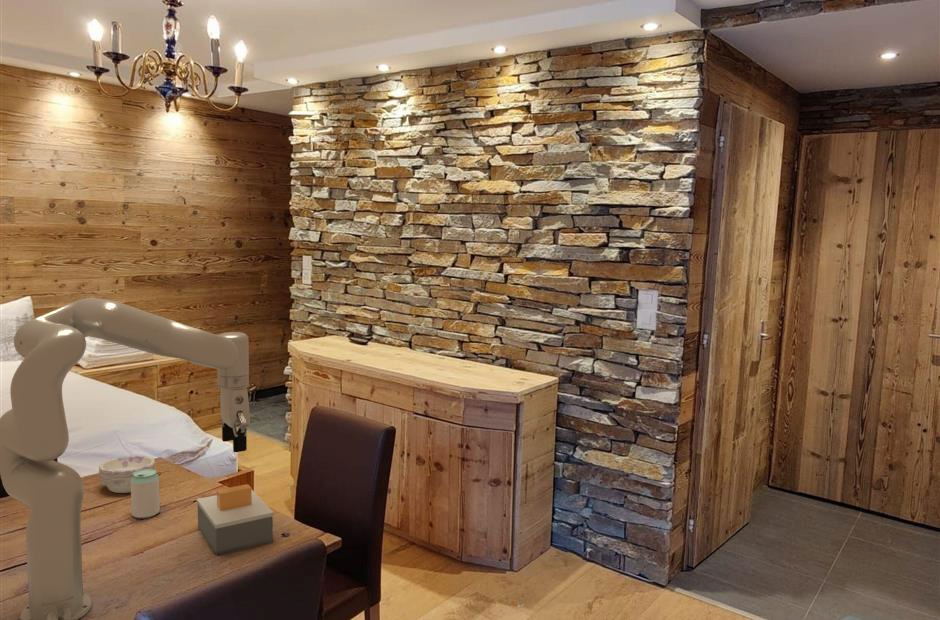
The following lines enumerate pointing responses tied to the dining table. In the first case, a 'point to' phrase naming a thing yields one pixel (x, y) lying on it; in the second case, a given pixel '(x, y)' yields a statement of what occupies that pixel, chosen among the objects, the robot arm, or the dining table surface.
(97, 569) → the dining table surface
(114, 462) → the paper bowls
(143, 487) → the can
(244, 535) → the parts tub
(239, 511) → the lid
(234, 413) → the robot arm
